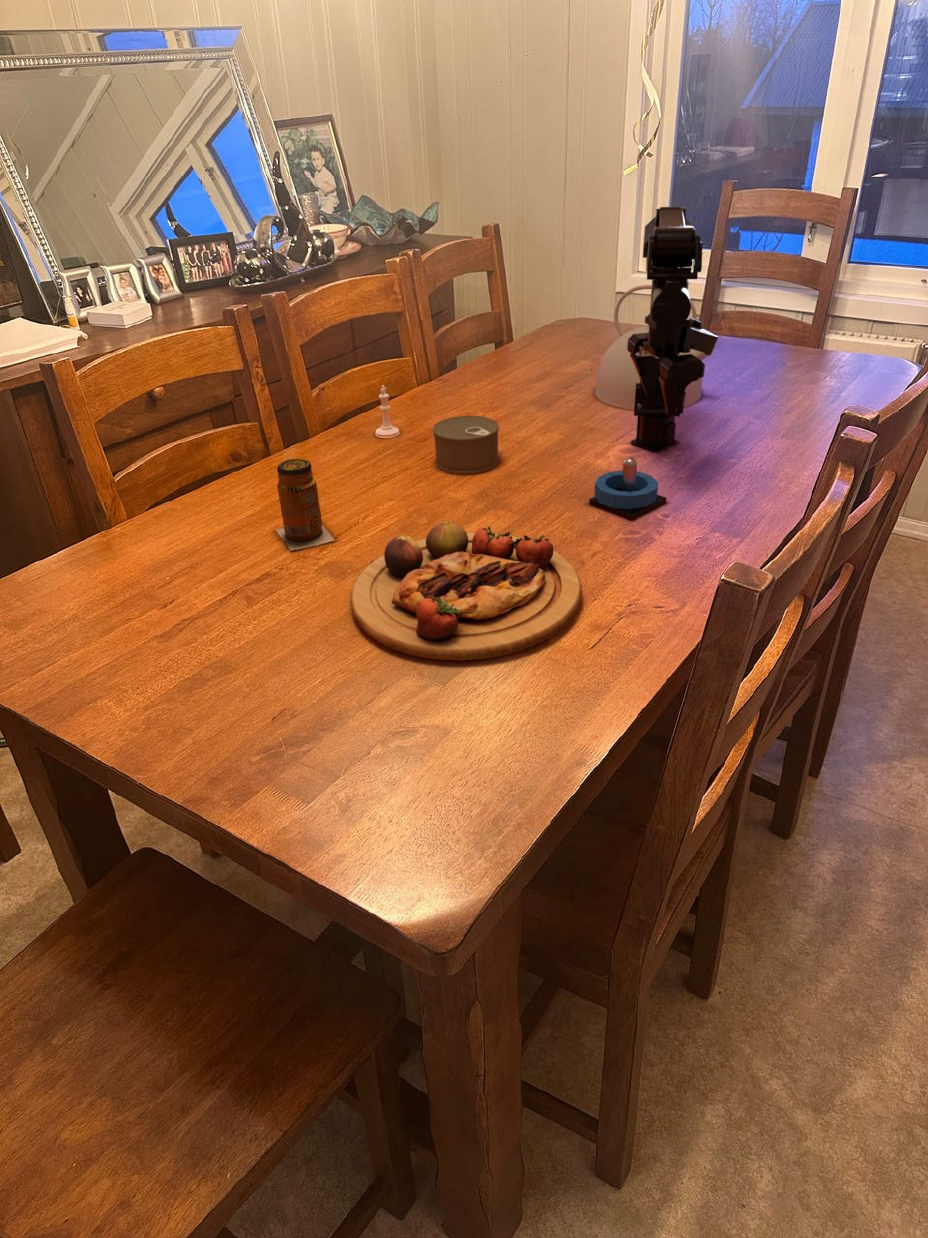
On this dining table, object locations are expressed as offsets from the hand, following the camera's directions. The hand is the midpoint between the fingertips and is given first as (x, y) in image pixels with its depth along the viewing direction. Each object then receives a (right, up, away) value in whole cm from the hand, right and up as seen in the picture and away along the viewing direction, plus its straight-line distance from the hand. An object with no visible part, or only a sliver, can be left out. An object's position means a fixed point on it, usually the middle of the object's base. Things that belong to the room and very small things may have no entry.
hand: (660, 405), depth 149 cm
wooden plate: (-33, -34, -27) cm, 55 cm away
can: (-33, -7, +14) cm, 36 cm away
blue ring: (-7, -16, -4) cm, 18 cm away
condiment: (-59, -23, -9) cm, 64 cm away
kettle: (+8, +12, +41) cm, 44 cm away
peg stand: (-6, -17, -4) cm, 19 cm away
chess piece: (-49, +1, +28) cm, 56 cm away
